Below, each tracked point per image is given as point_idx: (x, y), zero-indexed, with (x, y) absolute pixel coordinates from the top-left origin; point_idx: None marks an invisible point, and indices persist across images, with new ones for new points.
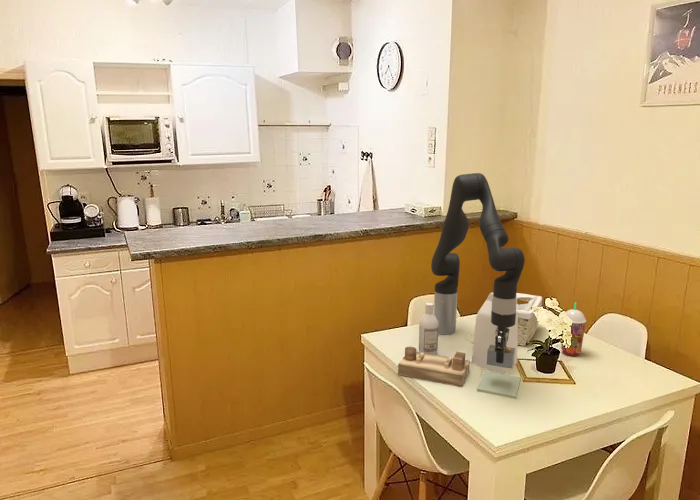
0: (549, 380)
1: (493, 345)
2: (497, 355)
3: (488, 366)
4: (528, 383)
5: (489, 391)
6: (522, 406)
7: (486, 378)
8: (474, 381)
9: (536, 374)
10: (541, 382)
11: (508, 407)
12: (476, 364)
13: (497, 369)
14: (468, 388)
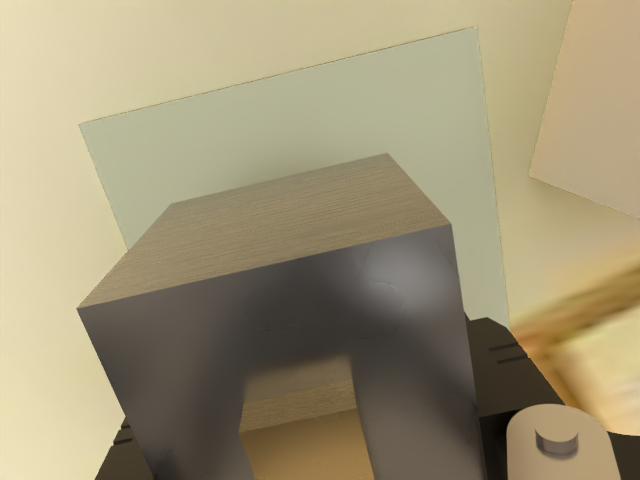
0: None
1: (433, 311)
2: (97, 478)
3: (582, 27)
4: None
5: (121, 227)
6: None
7: (323, 114)
8: (242, 22)
9: (636, 380)
10: None
11: (43, 393)
12: None
13: (554, 132)
14: (76, 34)
